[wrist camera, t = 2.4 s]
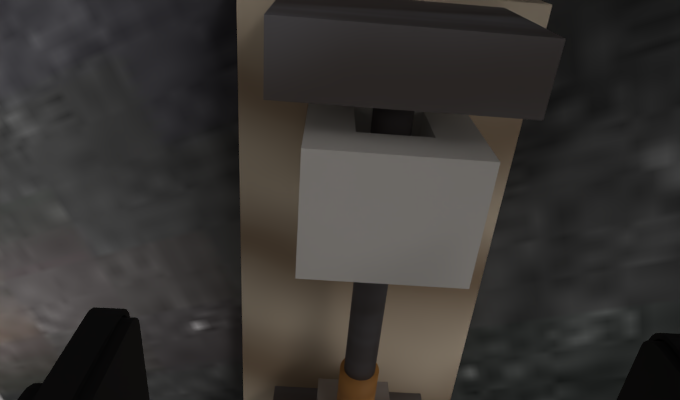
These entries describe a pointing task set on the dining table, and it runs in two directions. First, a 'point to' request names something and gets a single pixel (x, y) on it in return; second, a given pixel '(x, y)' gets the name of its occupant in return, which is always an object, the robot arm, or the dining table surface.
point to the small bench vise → (387, 118)
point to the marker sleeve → (392, 199)
